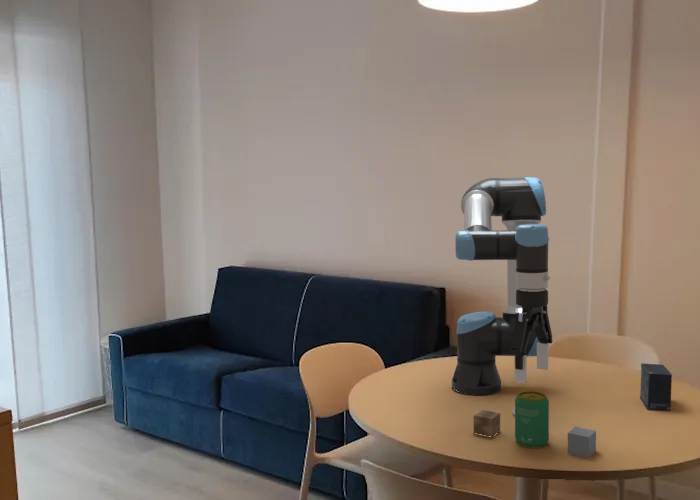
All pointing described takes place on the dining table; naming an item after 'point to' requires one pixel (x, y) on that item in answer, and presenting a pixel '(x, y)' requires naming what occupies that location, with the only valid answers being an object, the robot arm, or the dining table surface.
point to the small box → (655, 387)
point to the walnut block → (487, 423)
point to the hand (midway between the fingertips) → (531, 375)
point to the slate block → (582, 442)
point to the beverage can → (531, 419)
